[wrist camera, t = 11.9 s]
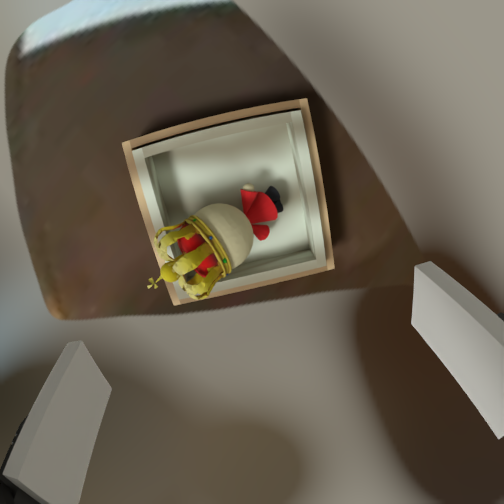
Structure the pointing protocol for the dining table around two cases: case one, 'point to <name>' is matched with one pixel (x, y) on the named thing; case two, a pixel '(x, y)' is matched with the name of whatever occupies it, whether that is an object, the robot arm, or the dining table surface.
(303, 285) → the dining table surface
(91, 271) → the dining table surface
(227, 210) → the toy
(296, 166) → the square wooden tray
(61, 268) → the dining table surface
